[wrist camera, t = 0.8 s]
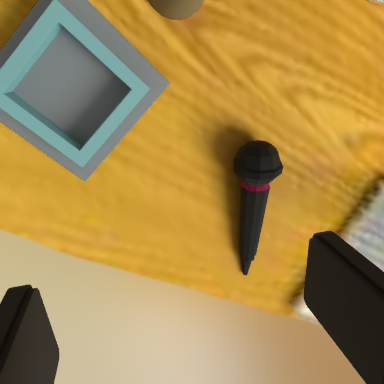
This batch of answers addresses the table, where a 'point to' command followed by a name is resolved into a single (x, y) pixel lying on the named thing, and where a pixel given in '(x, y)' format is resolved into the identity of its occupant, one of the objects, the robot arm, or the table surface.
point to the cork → (176, 8)
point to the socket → (74, 83)
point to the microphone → (254, 192)
